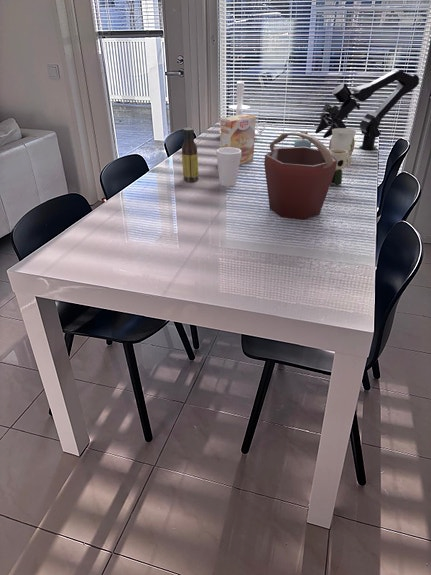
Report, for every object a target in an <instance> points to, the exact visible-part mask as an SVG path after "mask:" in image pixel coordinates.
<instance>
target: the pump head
mask: <svg viewBox="0 0 431 575" xmlns="http://www.w3.org/2000/svg"><path fill="white" fill-rule="evenodd" d="M299 133H305V134H308V133H309V132H308V131H305V130H302V131H300V132H299ZM308 135H309V134H308ZM301 139H305V138H303V137H301Z"/></svg>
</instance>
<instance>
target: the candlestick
mask: <svg viewBox="0 0 431 575" xmlns="http://www.w3.org/2000/svg"><path fill="white" fill-rule="evenodd" d="M244 91H245V82H244V81H242V80H237V81H236V104H231V105H228V108H229V109H232V110H235V114H234V116H238V115H244V114H243V111H245V110H247V109H250V108H251V106H250V105H245V104H244ZM265 124H267V122H259V123H257V124H256V125H255V137H256V136H258V137H259V136H261V135H262V133H263V132H264V131H265V129H266V126H265ZM259 125H262V127H263V128H262V129H261V130H260V129H259V128H258V127H259ZM218 132H219V133H221V129H219V131H218Z"/></svg>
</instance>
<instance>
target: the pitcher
mask: <svg viewBox="0 0 431 575" xmlns="http://www.w3.org/2000/svg"><path fill="white" fill-rule="evenodd" d="M356 133H357V131H356V130H355V129H352V128H347V127H346V128H335V129H333V130H332V135H331V138H330V140H329V144H328V150H330V149H343V150H346V151H347V152H348V155H347V157H351V156H352V154H353V153H354V149H355V144H356V142H355V137H356ZM347 161H349V159H347V160H346V162H347Z"/></svg>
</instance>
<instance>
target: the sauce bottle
mask: <svg viewBox="0 0 431 575" xmlns="http://www.w3.org/2000/svg"><path fill="white" fill-rule="evenodd" d="M182 133H183V143H182V145H181V160H182V175H183V180H184V181H185V182H187V183H193V182H197V181H198V180H199V156H198V154H199V153H198V146H197V144H196V142H195V136H194V134H195V130H194V128H193V127H183V129H182Z"/></svg>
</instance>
